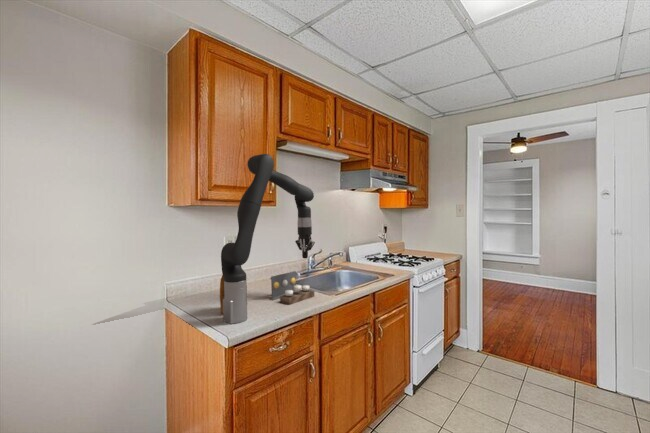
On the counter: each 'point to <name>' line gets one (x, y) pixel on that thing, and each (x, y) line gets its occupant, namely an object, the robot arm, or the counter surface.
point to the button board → (297, 297)
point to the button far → (305, 287)
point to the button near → (289, 292)
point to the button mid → (297, 287)
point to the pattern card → (282, 284)
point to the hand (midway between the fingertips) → (305, 258)
